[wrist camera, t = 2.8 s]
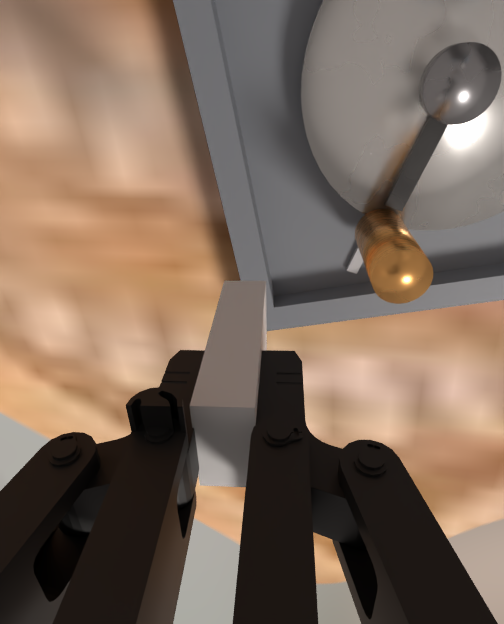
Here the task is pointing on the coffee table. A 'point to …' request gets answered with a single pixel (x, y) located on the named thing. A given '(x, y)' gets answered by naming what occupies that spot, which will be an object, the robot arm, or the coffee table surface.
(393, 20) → the dial
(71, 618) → the robot arm
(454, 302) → the panel
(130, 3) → the coffee table surface
